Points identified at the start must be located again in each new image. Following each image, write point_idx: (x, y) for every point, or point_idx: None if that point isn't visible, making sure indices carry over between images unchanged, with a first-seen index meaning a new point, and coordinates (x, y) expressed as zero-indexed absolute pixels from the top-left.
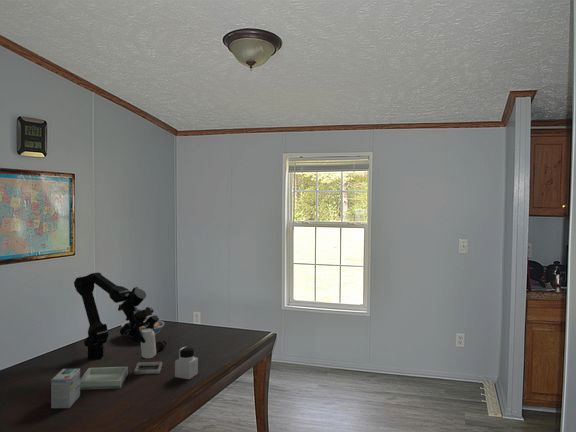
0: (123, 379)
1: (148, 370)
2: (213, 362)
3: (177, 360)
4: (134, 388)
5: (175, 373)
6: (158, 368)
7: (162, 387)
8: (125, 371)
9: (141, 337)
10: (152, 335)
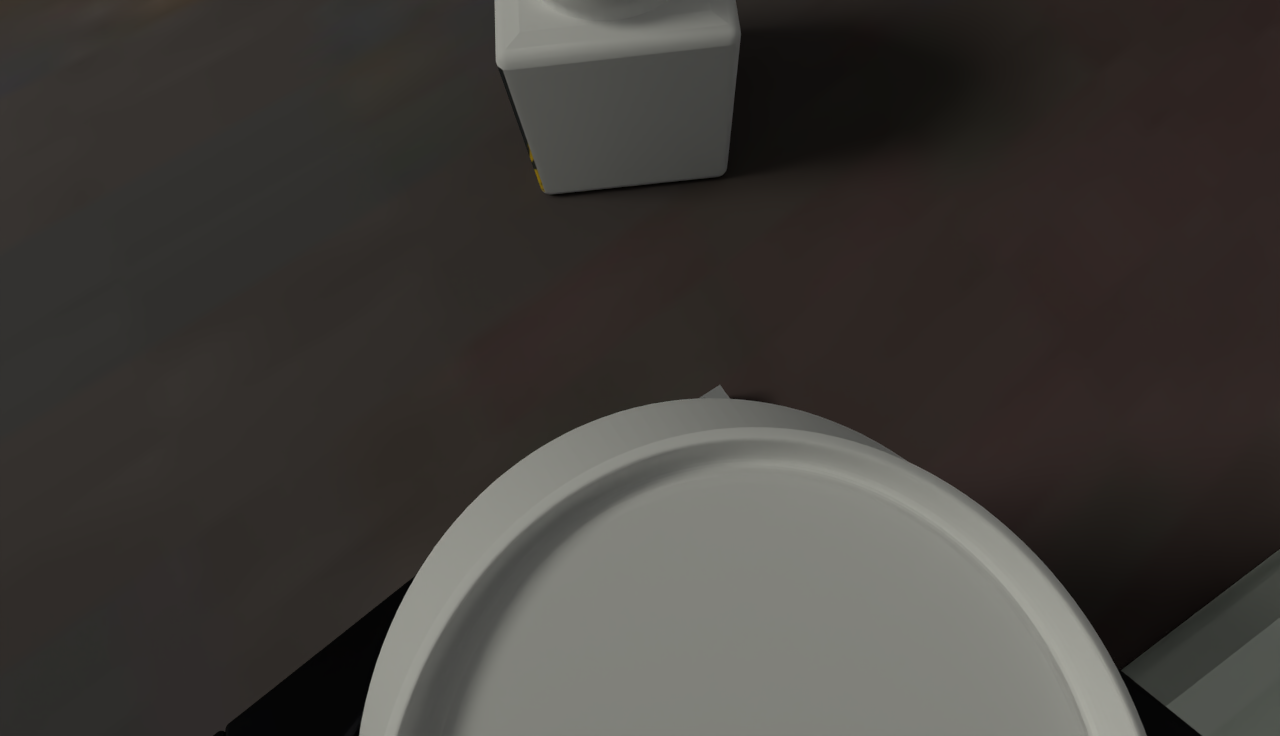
0: (1233, 607)
1: None
2: (174, 105)
3: (718, 7)
4: (1230, 339)
5: (728, 141)
6: None
7: (1008, 116)
8: (1169, 701)
9: (1181, 724)
10: (745, 404)
